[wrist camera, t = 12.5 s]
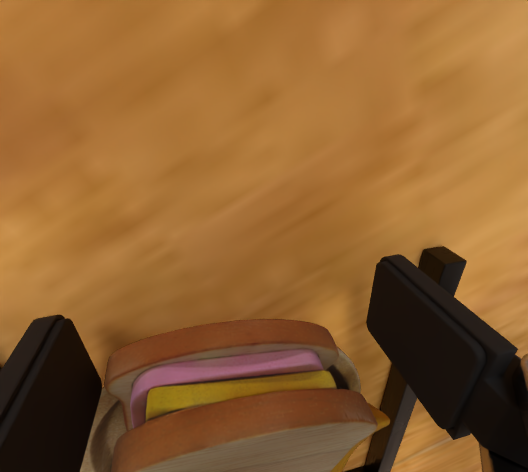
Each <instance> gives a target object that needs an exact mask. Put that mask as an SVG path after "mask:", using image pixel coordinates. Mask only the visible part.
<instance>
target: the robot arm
mask: <svg viewBox="0 0 528 472" xmlns="http://www.w3.org/2000/svg"><path fill="white" fill-rule="evenodd" d="M366 323H367V328H368V330H369V332H370V333H371V335H372V336H373V337H374V339H375V340H376V341H377V343H378V344H379V346H380V347H381V348H382V350H383V351H384V352H385V354H386V355H387V357H388V358H389V359H390V361H391V362H392V363H393V365H394V366H395V368H396V369H397V370H398V372H399V373H400V374H401V376H402V377H403V379H404V380H405V381H406V383H407V384H408V385H409V387H410V388H411V390H412V391H413V392H414V394H415V395H416V396H417V398H418V399H419V401H420V402H421V403H422V405H423V406H424V407H425V409H426V410H427V412H428V413H429V414H430V416H431V417H432V418H433V420H434V421H435V422H436V424H437V425H438V426H439V427H440V428H442V429H446V431H447V432H448V433H449V435H450V436H451V438H452V439H453V440H455V439H458V438H461V437H464V436H467V435H470V434H471V433H472V434H473V436H474V437H475V438H476V439H477V441H478V442H479V448H480V456H481V464H482V472H528V354H526V355H524V356H523V358H522V359H520V358H518V357H517V356H516V355H515V353H516V352H517V350H518V349H517V348H516V347H515V346H514V345H512V344H511V343H510V342H509V341H508V340H506V339H505V338H504V337H503V336H501V335H500V334H499V333H498V332H496V331H495V330H494V329H493V328H491V327H490V326H489V325H488V324H487V323H485V322H484V321H483V320H482V319H480V318H479V317H478V316H477V315H475V314H474V313H473V312H472V311H470V310H469V309H468V308H467V307H466V306H464V305H463V304H462V303H461V302H459V301H458V300H457V299H456V298H454V297H453V296H452V295H451V294H450V293H448V292H447V291H446V290H445V289H443V288H442V287H441V286H440V285H438V284H437V283H436V282H435V281H433V280H432V279H431V278H430V277H429V276H427V275H426V274H425V273H424V272H422V271H421V270H420V269H419V268H417V267H416V266H415V265H414V264H412V263H411V262H410V261H409V260H408V259H406V258H405V257H404V256H402V255H399V254H398V255H392V256H387V257H383V258H382V259H381V260H380V262H379V263H377V265H376V270H375V276H374V281H373V287H372V293H371V298H370V304H369V309H368V315H367V321H366ZM101 391H102V383H101V379H100V377H99V375H98V373H97V371H96V369H95V367H94V365H93V363H92V361H91V359H90V357H89V355H88V352H87V350H86V348H85V346H84V344H83V342H82V340H81V338H80V336H79V334H78V332H77V330H76V328H75V326H74V324H73V322H72V321H71V319H65V318H64V317H63V316H62V315H54V316H49V317H43V318H37V319H35V320H33V322H32V323H31V324H30V326H29V327H28V329H27V330H26V332H25V333H24V335H23V337H22V338H21V340H20V341H19V343H18V344H17V346H16V348H15V349H14V351H13V352H12V354H11V355H10V357H9V359H8V360H7V362H6V363H5V365H4V366H3V368H2V370H1V371H0V472H80V470H81V466H82V462H83V458H84V455H85V451H86V447H87V444H88V440H89V436H90V433H91V429H92V425H93V422H94V418H95V414H96V411H97V407H98V403H99V400H100V396H101Z"/></svg>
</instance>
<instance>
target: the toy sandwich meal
mask: <svg viewBox="0 0 528 472" xmlns="http://www.w3.org/2000/svg"><path fill="white" fill-rule="evenodd" d="M360 392H361V387H360V379H359V375H358V372H357V370H356V368H355V366H354V364H353V363H352V361H351V360H350V359H349V358H348V357H347V356H346V354H345V353H344V352H342V351H341V350H340V349H339V348H337V347H336V345H335V343H334V340H333V338H332V336H331V334H330V333H329V331H328V330H327V329H326V328H324V327H322V326H319V325H317V324H313V323H309V322H302V321H293V320H282V319H255V320H239V321H229V322H222V323H213V324H206V325H199V326H194V327H189V328H184V329H179V330H175V331H171V332H167V333H163V334H159V335H156V336H152V337H148V338H145V339H143V340H140V341H137V342H135V343H132V344H129V345H127V346H125V347H123V348H120V349H119V350H117V351H116V352H114V353H113V354H112V355H111V356H110V357H109V360H108V365H107V370H106V376H105V382H104V387H103V388H102V391H101V396H100V400H99V403H98V407H97V411H96V414H95V418H94V422H93V425H92V429H91V433H90V436H89V440H88V444H87V447H86V451H85V455H84V458H83V462H82V466H81V470H80V472H342V470H343V468H344V466H345V464H346V462H347V461H348V459H349V457H350V456H351V454H352V453H353V452H354V450H355V449H356V448H357V447H358V446H359V445H360V444H361V443H362V442H363V441H364V440H365V439H367V438H368V437H369V436H370V435H372V434H373V433H374V432H376V431H378V430H380V429H382V428H384V427H386V426H387V425H389V424H390V419H389V418H388V416H387V415H386V414H384V413H383V412H381V411H380V410H378V409H377V408H375V407H374V406H372V405H370V404H369V403H367V402H366V400H365V398H364V397H363V396H362V394H360Z"/></svg>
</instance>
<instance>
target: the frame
mask: <svg viewBox="0 0 528 472" xmlns="http://www.w3.org/2000/svg"><path fill="white" fill-rule="evenodd" d="M466 262H467V261H466V260H465V259H463V258H462V257H460V256H458V255H457V254H455V253H454V252H452V251H451V250H449V249H447V248H446V247H444V246H442V247H436V248H430V249H425V250H424V251H423V254H422V258H421V262H420V265H419V269H420V270H421V271H422V272H424V273H425V274H426V275H427V276H429V277H430V278H431V279H432V280H433V281H435V282H436V283H437V284H438V285H440V286H441V287H442V288H443V289H445V290H446V291H447V292H448V293H450V294H451V295H452V296H453V297H454V295H455V292H456V290H457V287H458V284H459V281H460V279H461V276H462V273H463V270H464V268H465V265H466ZM1 370H2V369H1V368H0V371H1ZM416 400H417V396H416V395H415V394H414V392H413V391H412V390H411V388H410V387H409V385H408V384H407V383H406V381H405V380H404V379H403V377H402V376H401V374H400V373H399V372H398V370H397V369H396V368H395V366H394V365H392V368H391V372H390V376H389V379H388V383H387V387H386V390H385V394H384V398H383V401H382V405H381V409H380V411H381V412H383V413H384V414H386V415H387V416H388V418H389V419H390V424H389V425H387V426H386V427H384V428H382V429H380V430H378V431H376V432H374V435H373V438H372V442H371V446H370V449H369V453H368V457H367V460H366V464H365V466H364V467H361V468H358V469H355V470H352V471H349V472H390V471H391V468H392V466H393V463H394V460H395V457H396V455H397V452H398V449H399V446H400V444H401V441H402V438H403V435H404V433H405V430H406V427H407V424H408V422H409V419H410V416H411V413H412V411H413V408H414V405H415V402H416Z"/></svg>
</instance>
